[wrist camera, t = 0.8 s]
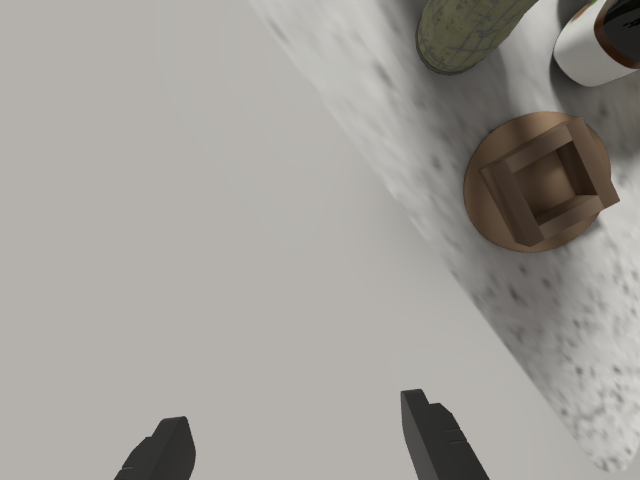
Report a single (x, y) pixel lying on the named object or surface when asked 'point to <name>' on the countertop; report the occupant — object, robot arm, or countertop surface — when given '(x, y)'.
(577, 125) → the holder
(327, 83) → the countertop surface
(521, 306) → the countertop surface
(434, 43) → the thermos
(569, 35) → the spread jar
